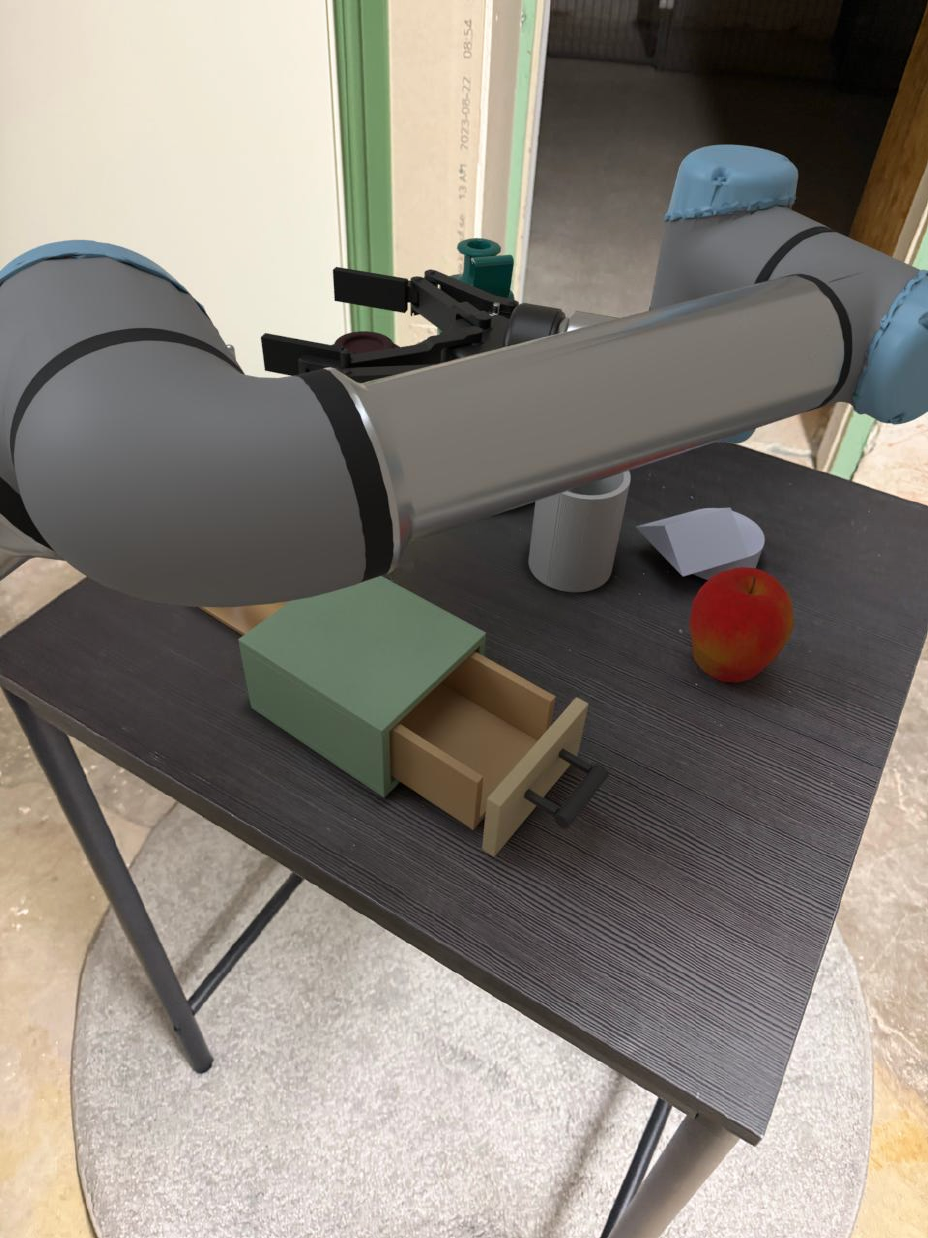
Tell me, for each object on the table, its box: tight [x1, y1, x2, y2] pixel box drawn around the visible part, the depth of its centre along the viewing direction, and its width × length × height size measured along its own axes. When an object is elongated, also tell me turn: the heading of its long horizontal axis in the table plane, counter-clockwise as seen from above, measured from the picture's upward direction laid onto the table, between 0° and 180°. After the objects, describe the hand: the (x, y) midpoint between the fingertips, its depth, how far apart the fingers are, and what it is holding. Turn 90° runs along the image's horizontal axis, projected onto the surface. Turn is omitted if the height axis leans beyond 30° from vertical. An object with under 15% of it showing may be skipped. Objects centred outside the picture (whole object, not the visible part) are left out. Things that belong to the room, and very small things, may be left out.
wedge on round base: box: [635, 507, 766, 581], centre depth 94 cm, size 9×7×13 cm
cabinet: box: [237, 575, 487, 799], centre depth 76 cm, size 16×14×9 cm
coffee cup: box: [332, 330, 401, 368], centre depth 104 cm, size 10×10×15 cm
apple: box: [688, 567, 795, 683], centre depth 80 cm, size 9×9×12 cm
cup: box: [527, 470, 632, 593], centre depth 91 cm, size 9×9×12 cm
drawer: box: [389, 651, 610, 858], centre depth 71 cm, size 19×13×7 cm
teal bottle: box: [436, 237, 516, 335], centre depth 111 cm, size 10×8×22 cm
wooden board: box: [197, 601, 290, 637], centre depth 92 cm, size 16×13×1 cm
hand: (301, 315), depth 70 cm, fingers open, 13 cm apart
